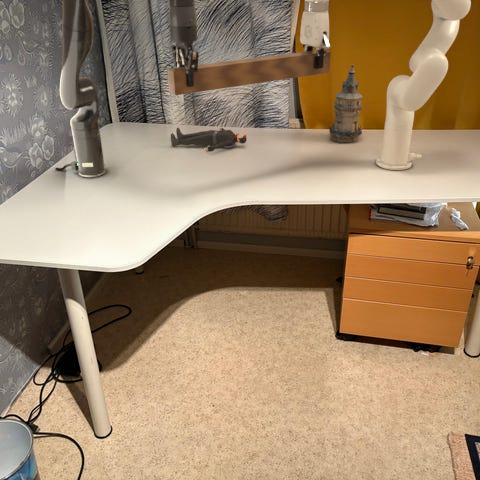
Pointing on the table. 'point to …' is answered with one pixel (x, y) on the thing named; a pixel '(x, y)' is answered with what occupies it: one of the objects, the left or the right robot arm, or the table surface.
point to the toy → (208, 139)
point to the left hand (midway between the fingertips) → (186, 84)
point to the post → (247, 72)
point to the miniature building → (347, 111)
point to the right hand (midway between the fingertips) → (313, 66)
